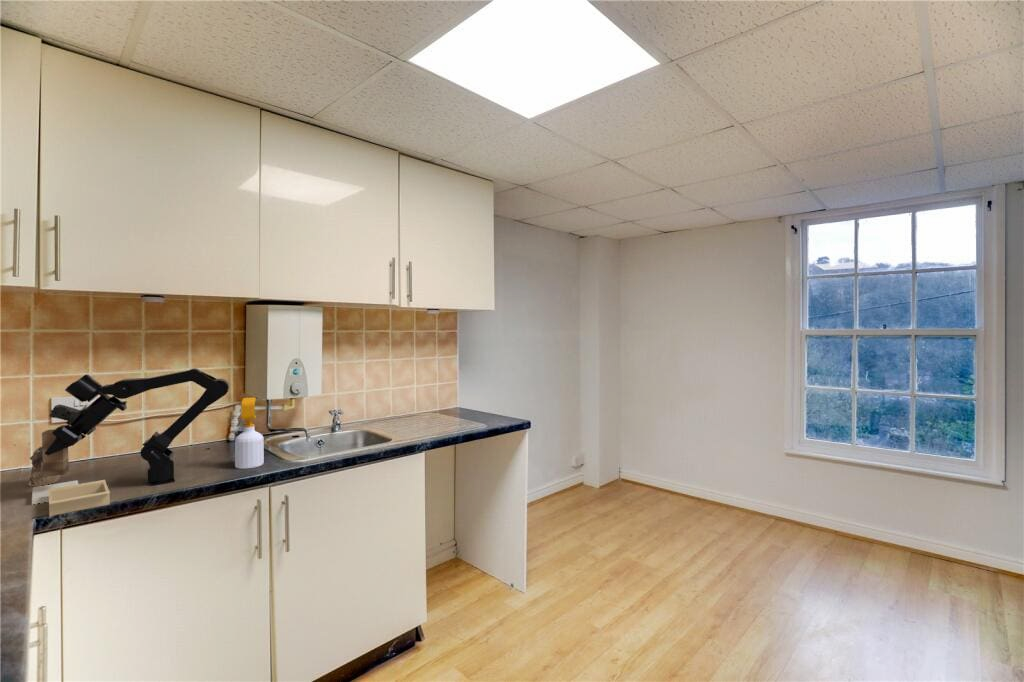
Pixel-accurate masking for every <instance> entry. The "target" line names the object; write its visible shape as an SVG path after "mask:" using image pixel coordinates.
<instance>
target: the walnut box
mask: <svg viewBox="0 0 1024 682" xmlns="http://www.w3.org/2000/svg"><path fill="white" fill-rule="evenodd" d="M55 429H56V428H55ZM55 429H47V430H44V431H43V432H41V446H42V456H43V477H49V476H58V475H60V476H65V474H66V473H68V472H69V470H70V469H69V467H70V465H69V463H70V462H69V447H67V448H65V449H62V450H60V451H58V452H55V453H53V454H51V455H46V454H45V452H46V451H47V449H48V448H49V447H50V446H51V444H52V443H53V442H54V440H55V439H56V436H55V435H53V434H52V432H53V431H54V430H55Z"/></svg>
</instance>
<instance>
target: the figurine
mask: <svg viewBox="0 0 1024 682" xmlns="http://www.w3.org/2000/svg"><path fill="white" fill-rule="evenodd" d="M29 460H31V465H32V466H31V467H32V468H31V470H30V476H29V479H28V486H29V485H30V487H32V486H35V487H39V486H42V485H44V486H45V485H48V484H49V485H51V484H52V483H53V484H57V483H59V481H60V478H61V475H58V476H49V477H43V456H42V445H41V446H39V447H38V448H36V449H35V450H34V451H33V454H32V456H30V457H29Z"/></svg>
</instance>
